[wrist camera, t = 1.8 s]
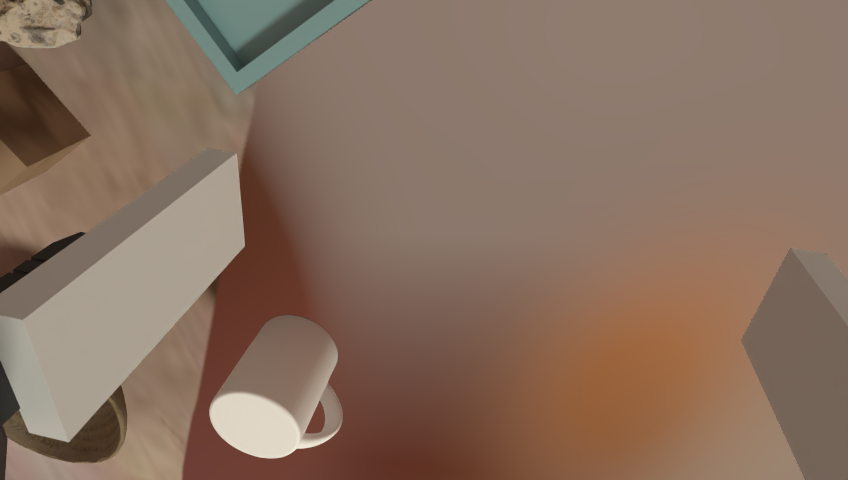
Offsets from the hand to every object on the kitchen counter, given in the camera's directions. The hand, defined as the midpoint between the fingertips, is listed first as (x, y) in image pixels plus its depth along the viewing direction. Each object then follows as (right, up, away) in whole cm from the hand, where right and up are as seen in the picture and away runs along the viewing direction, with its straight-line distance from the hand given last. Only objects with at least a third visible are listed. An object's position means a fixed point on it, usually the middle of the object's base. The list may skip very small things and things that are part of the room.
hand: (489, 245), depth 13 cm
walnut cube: (-35, +11, +34) cm, 50 cm away
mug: (-13, -12, +43) cm, 46 cm away
